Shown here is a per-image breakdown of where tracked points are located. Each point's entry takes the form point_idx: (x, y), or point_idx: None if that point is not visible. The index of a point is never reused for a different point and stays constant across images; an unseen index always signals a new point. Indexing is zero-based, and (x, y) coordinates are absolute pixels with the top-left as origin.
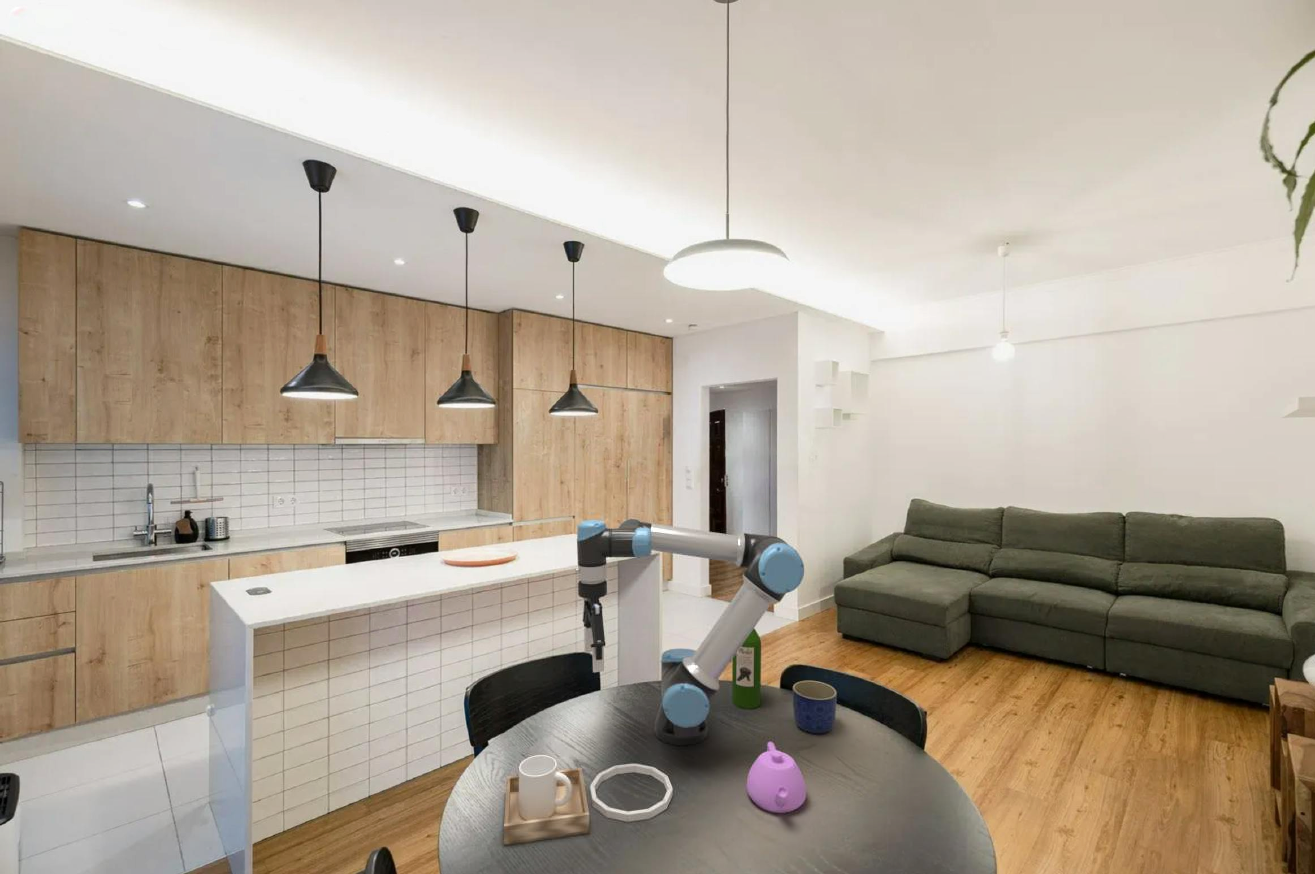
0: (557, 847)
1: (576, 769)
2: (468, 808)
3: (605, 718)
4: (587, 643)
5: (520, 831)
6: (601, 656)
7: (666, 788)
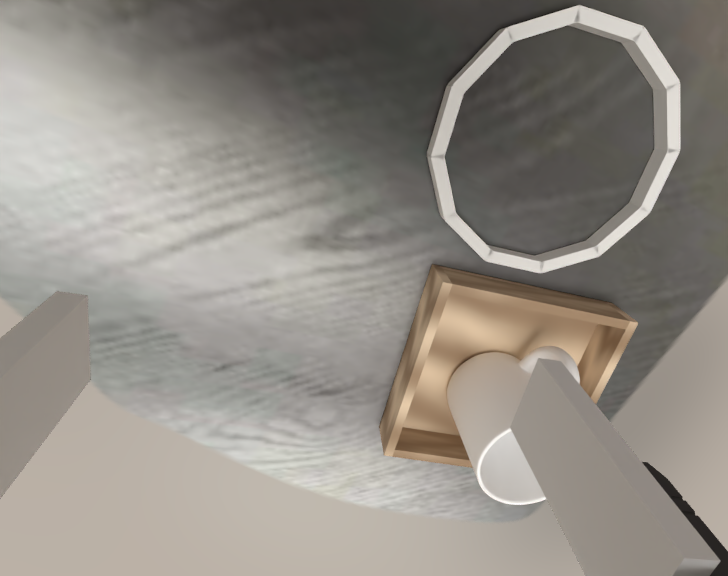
0: None
1: (444, 297)
2: (393, 492)
3: (45, 32)
4: (44, 415)
5: None
6: (675, 496)
7: (602, 34)
